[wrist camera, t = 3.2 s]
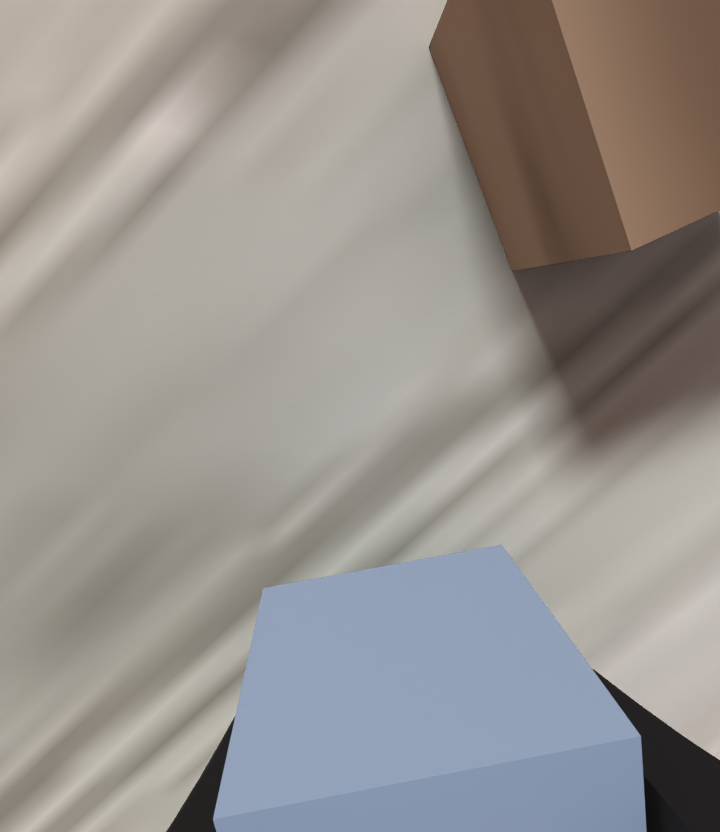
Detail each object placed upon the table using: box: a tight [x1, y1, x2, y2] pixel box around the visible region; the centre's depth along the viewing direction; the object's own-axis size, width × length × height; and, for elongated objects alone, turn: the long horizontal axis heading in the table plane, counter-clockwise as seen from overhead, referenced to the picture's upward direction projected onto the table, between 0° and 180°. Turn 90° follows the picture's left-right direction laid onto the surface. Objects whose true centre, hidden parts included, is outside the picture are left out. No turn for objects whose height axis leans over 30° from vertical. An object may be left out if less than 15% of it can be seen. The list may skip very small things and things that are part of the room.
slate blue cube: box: [213, 545, 647, 832], centre depth 9 cm, size 5×5×5 cm
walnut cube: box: [429, 0, 720, 271], centre depth 9 cm, size 5×5×5 cm
